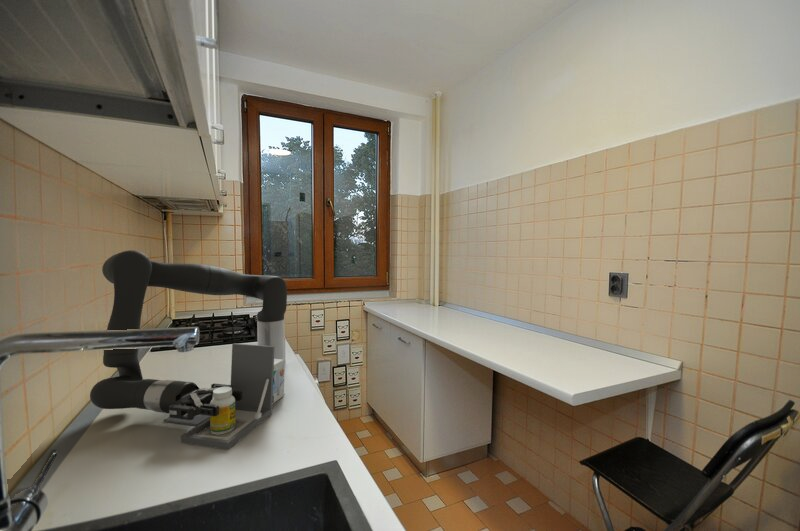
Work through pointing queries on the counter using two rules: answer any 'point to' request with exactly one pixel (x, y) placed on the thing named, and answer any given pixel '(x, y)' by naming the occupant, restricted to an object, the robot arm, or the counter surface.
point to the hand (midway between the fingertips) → (230, 403)
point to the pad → (195, 421)
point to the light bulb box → (278, 380)
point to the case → (243, 395)
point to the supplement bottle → (223, 411)
